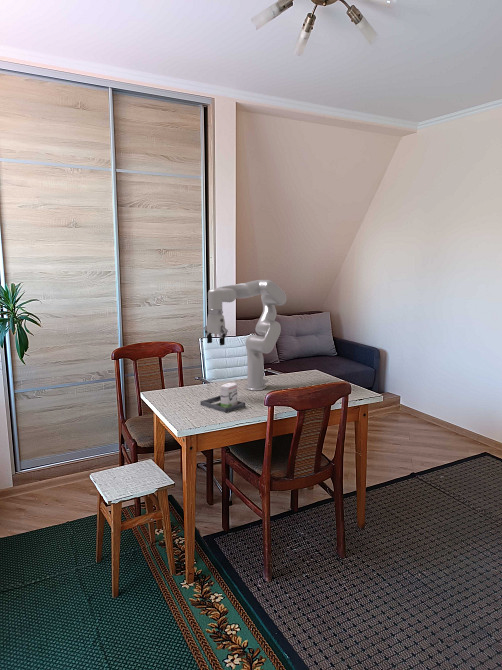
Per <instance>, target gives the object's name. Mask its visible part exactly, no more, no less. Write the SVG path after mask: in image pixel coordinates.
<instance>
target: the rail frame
mask: <svg viewBox="0 0 502 670" xmlns="http://www.w3.org/2000/svg"><path fill="white" fill-rule="evenodd" d="M217 401H220V402H218V403H214V402H217ZM213 403H214V404H213ZM200 406H202V407H206V408H208V409H212V410H216V411H219V412H222V413H225V414H227V413H229V412H233V411H235V410H239V409H242V408H244V407H246V402H244V401H241V400H237V405H234V406H231V407H228V408H224V407H221V395H218V396H217V395H216V396H215V397H210V398H207V399H203V400H200Z"/></svg>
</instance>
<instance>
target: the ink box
mask: <svg viewBox="0 0 502 670" xmlns="http://www.w3.org/2000/svg"><path fill="white" fill-rule="evenodd" d="M220 396H221V400H220V402H221V407H224V408H228V407H231V406H234V405H237V401H238V383H234V382H228V383H225V384H222V385H220Z"/></svg>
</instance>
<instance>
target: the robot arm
mask: <svg viewBox="0 0 502 670" xmlns="http://www.w3.org/2000/svg"><path fill="white" fill-rule="evenodd" d="M286 294H287V293H285V291H284V290H283V289H282V288H281V287H280V286H278V284H276V283H275V282H274V281H272V280H270V279H257V280H256V279H255V280H252V281H247V282H243V283H237V284H230V285H224V286H220V287H216V288H214V289H213V288H211V289H209V290H208V292H207V299H208V300H207V301H208V302H207V306H208V309H207V310H208V311H207V312H208V313H207V320H206V326H204V327H203V329H204V333H205V336H206V343H207V344H211V343H213V335H212V334H214V335H219V346H225V345H226V343H225V342H226V341H225V338H226V337H227V335H228V332H229V331H228V329H227V328H226V322H225V316H224V315H223V314H224V311H223V303H232V302H235V300H236V299H248V298H252V297H255V296H260V295H261V297H260V299H261V304H262V313H261V315H260V317H259V319H258V321H257V323H256V325H255V327H254V328H255V332H256V334H257V335H256V334H252V335H249V336H248V337H247V338H246V340H245V350H246V355H247V357H246V358H247V368H246V369H247V372H246V373H247V375H246V376H247V378H246V379H247V384H245V386H244V388H245V390H249V391H263V389H264V390H266V389H265V388H267V385H266V383H269V379H267V378H266V379H265V376H264V373H265V372H264V368H265V367H264V366H265V365H264V364H265V363H264V361H265V360H264V355H263V354H270V353H271V352H272V351H273V349H274V347H275V346H276V343H277V341H278V339H279V338H280V335H281V332H282V328H281V327H282V326H281V324H280V322H278V321H277V320H276V318H277V314H278V313H277V309H276V306H283V305H285V304H286V302H287V300H288V297H287V295H286Z"/></svg>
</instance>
